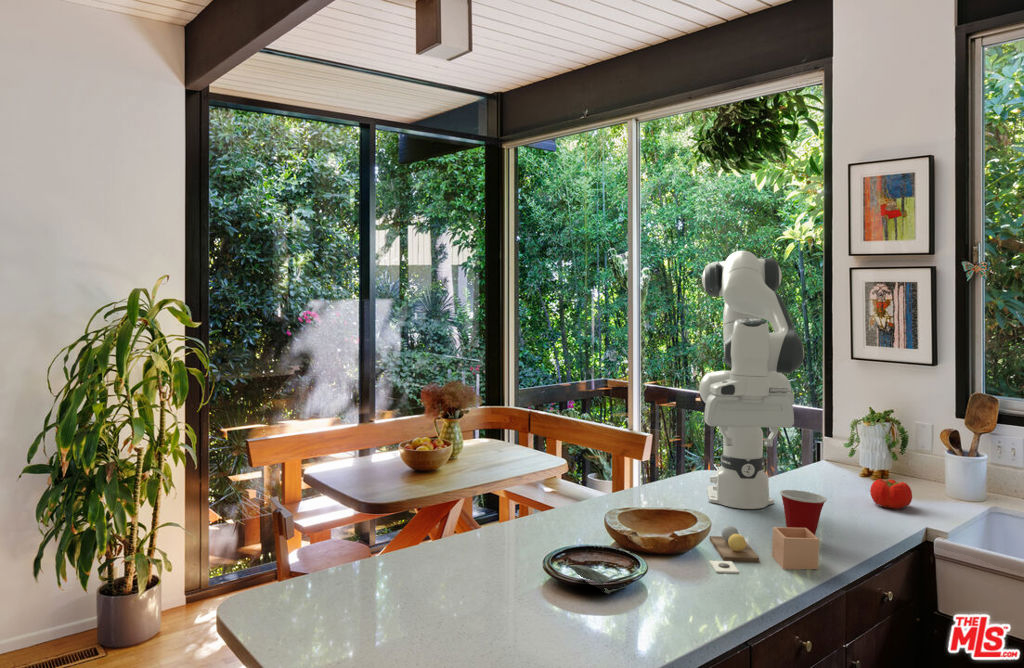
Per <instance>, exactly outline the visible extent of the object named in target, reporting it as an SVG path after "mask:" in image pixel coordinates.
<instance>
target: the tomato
mask: <svg viewBox="0 0 1024 668" xmlns="http://www.w3.org/2000/svg"><path fill="white" fill-rule="evenodd" d="M869 493H870V496H871V499H872V500H873V502H874V503H875V504H876V505H878V506H880V507H882V508H889V509H895V510H898V509H902V508H904V507H908V506H910V505H911V503H912V501H913V492H912V489H911V487H910V486H909V485H908V483H907V482H903V481H896V480H895V479H887V478H885V480H884V479H882V478H880V479H879V478H878V479H876V480H874V481H873V482H872V484H871V486H870V489H869Z"/></svg>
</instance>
